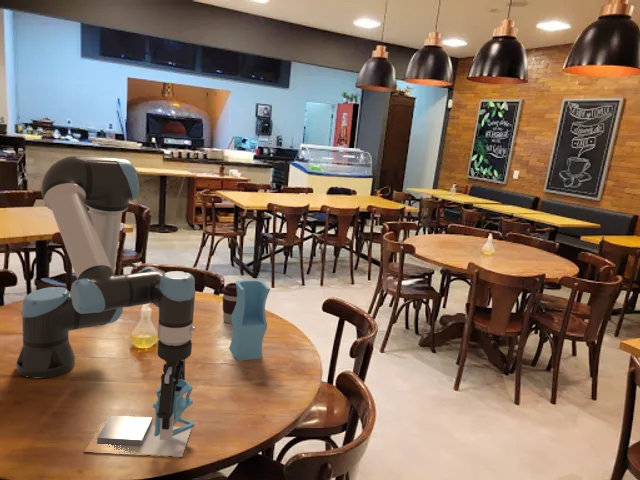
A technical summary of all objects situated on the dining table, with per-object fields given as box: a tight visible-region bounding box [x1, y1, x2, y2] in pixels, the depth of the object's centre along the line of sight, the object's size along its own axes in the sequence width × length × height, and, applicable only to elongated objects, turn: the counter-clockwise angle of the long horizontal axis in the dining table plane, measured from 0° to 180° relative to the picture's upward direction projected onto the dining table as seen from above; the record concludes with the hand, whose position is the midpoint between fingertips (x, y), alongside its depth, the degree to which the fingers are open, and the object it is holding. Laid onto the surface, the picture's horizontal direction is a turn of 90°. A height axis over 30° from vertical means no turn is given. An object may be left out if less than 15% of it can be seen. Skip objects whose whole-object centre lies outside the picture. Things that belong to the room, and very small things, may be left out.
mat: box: [91, 422, 193, 458], centre depth 113 cm, size 22×11×1 cm, turn 94°
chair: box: [152, 379, 195, 436], centre depth 112 cm, size 8×8×12 cm
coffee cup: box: [221, 282, 237, 325], centre depth 189 cm, size 10×10×15 cm
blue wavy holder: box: [228, 279, 271, 361], centre depth 161 cm, size 10×10×25 cm
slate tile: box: [97, 414, 153, 446], centre depth 114 cm, size 10×2×9 cm
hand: (171, 426), depth 113 cm, fingers closed on chair, 9 cm apart
